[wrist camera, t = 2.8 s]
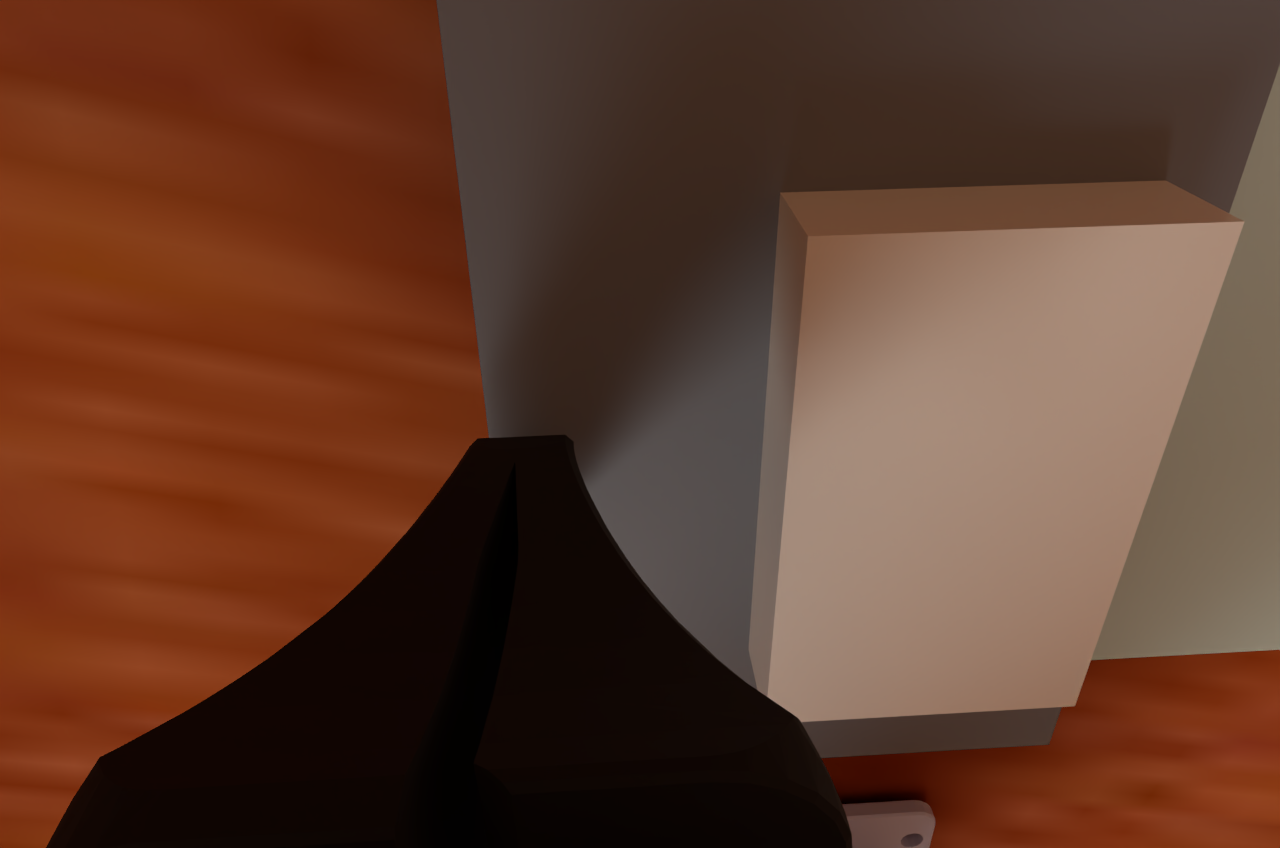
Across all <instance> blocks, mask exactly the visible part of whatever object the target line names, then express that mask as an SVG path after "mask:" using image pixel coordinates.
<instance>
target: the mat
mask: <svg viewBox="0 0 1280 848" xmlns="http://www.w3.org/2000/svg"><path fill="white" fill-rule="evenodd" d="M1229 214H1231V215H1233V216H1235V217H1237V218H1239V219H1241V220H1243V221H1245V222H1244V225H1243V228H1242V230H1241V233H1240V236H1239V239H1238V242H1237V245H1236V248H1235V250H1234V253H1233V256H1232V259H1231V262H1230V265H1229V268H1228V270H1227V273H1226V276H1225V279H1224V282H1223V285H1222V288H1221V290H1220V293H1219V296H1218V299H1217V302H1216V305H1215V307H1214V310H1213V313H1212V316H1211V319H1210V322H1209V325H1208V327H1207V330H1206V333H1205V336H1204V339H1203V342H1202V345H1201V347H1200V350H1199V353H1198V356H1197V359H1196V362H1195V365H1194V367H1193V370H1192V373H1191V376H1190V379H1189V382H1188V385H1187V387H1186V390H1185V393H1184V396H1183V399H1182V402H1181V405H1180V407H1179V410H1178V413H1177V416H1176V419H1175V422H1174V425H1173V427H1172V430H1171V433H1170V436H1169V439H1168V442H1167V444H1166V447H1165V450H1164V453H1163V456H1162V459H1161V462H1160V464H1159V467H1158V470H1157V473H1156V476H1155V479H1154V482H1153V484H1152V487H1151V490H1150V493H1149V496H1148V499H1147V502H1146V504H1145V507H1144V510H1143V513H1142V516H1141V519H1140V522H1139V524H1138V527H1137V530H1136V533H1135V536H1134V539H1133V542H1132V544H1131V547H1130V550H1129V553H1128V556H1127V559H1126V562H1125V564H1124V567H1123V570H1122V573H1121V576H1120V579H1119V582H1118V584H1117V587H1116V590H1115V593H1114V596H1113V599H1112V601H1111V604H1110V607H1109V610H1108V613H1107V616H1106V619H1105V621H1104V624H1103V627H1102V630H1101V633H1100V636H1099V639H1098V641H1097V644H1096V647H1095V650H1094V653H1093V656H1092V659H1091V660H1101V659H1119V658H1137V657H1155V656H1173V655H1191V654H1209V653H1227V652H1245V651H1263V650H1280V65H1279V68H1278V71H1277V74H1276V77H1275V80H1274V83H1273V86H1272V89H1271V92H1270V95H1269V98H1268V100H1267V103H1266V106H1265V109H1264V112H1263V115H1262V118H1261V121H1260V124H1259V127H1258V130H1257V133H1256V136H1255V139H1254V142H1253V145H1252V148H1251V151H1250V154H1249V156H1248V159H1247V162H1246V165H1245V168H1244V171H1243V174H1242V177H1241V180H1240V183H1239V186H1238V189H1237V192H1236V195H1235V198H1234V201H1233V204H1232V207H1231V209H1230V212H1229Z"/></svg>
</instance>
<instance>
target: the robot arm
mask: <svg viewBox="0 0 1280 848" xmlns="http://www.w3.org/2000/svg"><path fill="white" fill-rule="evenodd" d="M934 828H935V817H934V815H933V812H932V809H931V807H930V806H929V805H928V804H927V803H925V802H923V801H920V800H902V801H886V802H870V803H854V804H842V803H841V800H840V798H839V796H838V793H837V791H836V789H835V786H834V784H833V782H832V779H831V777H830V775H829V773H828V771H827V769H826V767H825V765H824V763H823V761H822V759H821V757H820V755H819V753H818V751H817V749H816V748H815V746H814V744H813V742H812V740H811V739H810V737H809V735H808V733H807V731H806V730H805V728H804V726H803V725H802V723H801V721H800V720H799V719H798V718H797V717H796V716H795V715H793V714H792V713H790V712H789V711H787V710H786V709H784V708H783V707H781V706H780V705H779V704H777V703H776V702H774V701H773V700H771V699H770V698H768V697H767V696H765V695H764V694H762V693H761V692H759V691H758V690H756V689H755V688H753V687H752V686H751V685H749V684H748V683H746V682H745V681H744V680H743V679H741V678H740V677H739V676H738V675H737V674H735V673H734V672H733V671H732V670H730V669H729V668H728V667H727V666H726V665H724V664H723V663H722V662H721V661H719V660H718V659H717V658H716V657H715V656H714V655H713V654H712V653H711V652H710V651H709V650H708V649H707V648H706V647H705V646H703V645H702V644H701V643H700V642H699V641H698V640H697V639H696V638H695V637H694V636H693V635H692V634H691V633H690V632H689V631H688V630H687V629H686V628H685V627H684V626H683V625H681V624H680V623H679V622H678V621H677V619H676V618H675V617H674V616H673V615H672V614H671V613H670V612H669V611H668V609H667V608H666V607H665V606H664V605H663V604H662V603H661V602H660V600H659V599H658V598H657V597H656V596H655V595H654V593H653V592H652V591H651V590H650V588H649V587H648V586H647V585H646V583H645V582H644V581H643V580H642V579H641V577H640V576H639V575H638V573H637V572H636V570H635V569H634V568H633V566H632V565H631V564H630V562H629V561H628V559H627V558H626V556H625V555H624V553H623V552H622V550H621V549H620V547H619V546H618V544H617V543H616V541H615V539H614V538H613V536H612V535H611V533H610V531H609V530H608V528H607V526H606V525H605V523H604V521H603V519H602V517H601V515H600V513H599V511H598V510H597V508H596V506H595V504H594V502H593V500H592V498H591V496H590V494H589V492H588V490H587V487H586V485H585V483H584V480H583V478H582V475H581V473H580V470H579V467H578V464H577V461H576V457H575V452H574V441H572V440H571V439H570V438H569V437H568V436H566V435H545V436H523V437H501V438H479V439H477V440H476V441H475V442H474V443H473V444H472V445H471V446H470V447H469V449H468V450H467V452H466V453H465V455H464V456H463V458H462V459H461V461H460V462H459V464H458V465H457V467H456V468H455V470H454V471H453V473H452V474H451V475H450V477H449V478H448V480H447V481H446V482H445V484H444V485H443V487H442V488H441V489H440V491H439V492H438V493H437V495H436V496H435V497H434V499H433V500H432V501H431V502H430V504H429V505H428V506H427V508H426V509H425V510H424V511H423V513H422V514H421V515H420V517H419V518H418V519H417V520H416V522H415V523H414V524H413V525H412V527H411V528H410V529H409V530H408V531H407V533H406V534H405V535H404V536H403V537H402V538H401V539H400V540H399V541H398V543H397V544H396V545H395V546H394V547H393V548H392V549H391V550H390V552H389V553H388V554H387V555H386V556H385V557H384V558H383V559H382V561H381V562H380V563H379V564H378V565H377V566H376V567H375V568H374V569H373V570H372V571H371V572H370V573H369V574H368V575H367V576H366V577H365V578H364V579H363V580H362V581H361V582H360V583H359V584H358V585H357V586H356V587H355V588H354V589H353V590H352V591H351V592H350V593H349V594H348V595H347V596H346V597H345V598H343V599H342V600H341V601H340V602H339V603H338V604H337V605H336V606H335V607H334V608H332V609H331V610H330V611H329V612H328V613H327V614H325V615H324V616H323V617H322V618H320V619H319V620H318V621H316V622H315V623H314V624H313V625H311V626H310V627H309V628H307V629H306V630H305V631H304V632H302V633H301V634H300V635H298V636H297V637H296V638H295V639H293V640H292V641H291V642H289V643H288V644H287V645H285V646H284V647H283V648H282V649H280V650H279V651H278V652H276V653H275V654H274V655H272V656H271V657H270V658H268V659H267V660H265V661H264V662H262V663H261V664H260V665H258V666H257V667H255V668H254V669H252V670H251V671H249V672H248V673H246V674H245V675H243V676H242V677H240V678H239V679H237V680H236V681H234V682H233V683H231V684H229V685H228V686H226V687H225V688H223V689H221V690H220V691H218V692H217V693H215V694H214V695H212V696H210V697H209V698H207V699H206V700H204V701H202V702H201V703H199V704H197V705H196V706H194V707H192V708H190V709H189V710H187V711H185V712H184V713H182V714H180V715H178V716H176V717H175V718H173V719H171V720H169V721H167V722H165V723H164V724H162V725H160V726H158V727H156V728H154V729H152V730H151V731H149V732H147V733H145V734H143V735H141V736H140V737H138V738H136V739H134V740H132V741H130V742H129V743H127V744H125V745H123V746H121V747H119V748H117V749H115V750H113V751H111V752H109V753H107V754H105V755H104V756H102V757H100V758H99V759H98V761H97V762H96V764H95V766H94V767H93V769H92V770H91V772H90V773H89V775H88V776H87V778H86V779H85V781H84V783H83V784H82V786H81V787H80V789H79V790H78V792H77V793H76V795H75V796H74V798H73V799H72V801H71V803H70V805H69V807H68V808H67V810H66V812H65V814H64V816H63V817H62V819H61V821H60V823H59V825H58V827H57V828H56V830H55V832H54V834H53V836H52V838H51V840H50V841H49V843H48V845H47V847H46V848H929V847H930V843H931V839H932V835H933V832H934Z"/></svg>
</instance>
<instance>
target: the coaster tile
mask: <svg viewBox="0 0 1280 848" xmlns="http://www.w3.org/2000/svg"><path fill="white" fill-rule="evenodd" d="M1244 222H1245V221H1243V220H1241V219H1239V218H1237V217H1235V216H1233V215H1231V214H1229V213H1227V212H1225V211H1223V210H1222V209H1220V208H1218V207H1216V206H1214V205H1212V204H1210V203H1208V202H1206V201H1204V200H1202V199H1200V198H1199V197H1197V196H1195V195H1193V194H1191V193H1189V192H1187V191H1185V190H1183V189H1181V188H1179V187H1177V186H1176V185H1174V184H1172V183H1170V182H1168V181H1166V180H1164V181H1132V182H1100V183H1069V184H1037V185H1005V186H974V187H942V188H910V189H879V190H847V191H815V192H784V193H780V203H779V218H778V232H777V246H776V261H775V275H774V290H773V304H772V318H771V333H770V347H769V361H768V376H767V390H766V405H765V419H764V433H763V448H762V462H761V477H760V491H759V505H758V520H757V534H756V549H755V563H754V577H753V592H752V606H751V620H750V635H749V654H750V659H751V663H752V668H753V672H754V677H755V681H756V686H757V690H758V691H759V692H761V693H762V694H764V695H765V696H767V697H768V698H770V699H771V700H773V701H774V702H776V703H777V704H779V705H780V706H781V707H783V708H784V709H786V710H787V711H789V712H790V713H792V714H793V715H795V716H796V717H797V718H798V719H799V720H800V721H801V722H810V721H828V720H845V719H862V718H880V717H897V716H914V715H932V714H949V713H966V712H983V711H1001V710H1018V709H1035V708H1053V707H1070V706H1075V704H1076V701H1077V699H1078V696H1079V693H1080V690H1081V687H1082V684H1083V681H1084V679H1085V676H1086V673H1087V670H1088V667H1089V664H1090V661H1091V659H1092V656H1093V653H1094V650H1095V647H1096V644H1097V641H1098V639H1099V636H1100V633H1101V630H1102V627H1103V624H1104V621H1105V619H1106V616H1107V613H1108V610H1109V607H1110V604H1111V601H1112V599H1113V596H1114V593H1115V590H1116V587H1117V584H1118V582H1119V579H1120V576H1121V573H1122V570H1123V567H1124V564H1125V562H1126V559H1127V556H1128V553H1129V550H1130V547H1131V544H1132V542H1133V539H1134V536H1135V533H1136V530H1137V527H1138V524H1139V522H1140V519H1141V516H1142V513H1143V510H1144V507H1145V504H1146V502H1147V499H1148V496H1149V493H1150V490H1151V487H1152V484H1153V482H1154V479H1155V476H1156V473H1157V470H1158V467H1159V464H1160V462H1161V459H1162V456H1163V453H1164V450H1165V447H1166V444H1167V442H1168V439H1169V436H1170V433H1171V430H1172V427H1173V425H1174V422H1175V419H1176V416H1177V413H1178V410H1179V407H1180V405H1181V402H1182V399H1183V396H1184V393H1185V390H1186V387H1187V385H1188V382H1189V379H1190V376H1191V373H1192V370H1193V367H1194V365H1195V362H1196V359H1197V356H1198V353H1199V350H1200V347H1201V345H1202V342H1203V339H1204V336H1205V333H1206V330H1207V327H1208V325H1209V322H1210V319H1211V316H1212V313H1213V310H1214V307H1215V305H1216V302H1217V299H1218V296H1219V293H1220V290H1221V288H1222V285H1223V282H1224V279H1225V276H1226V273H1227V270H1228V268H1229V265H1230V262H1231V259H1232V256H1233V253H1234V250H1235V248H1236V245H1237V242H1238V239H1239V236H1240V233H1241V230H1242V228H1243V225H1244Z"/></svg>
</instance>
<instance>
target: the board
mask: <svg viewBox="0 0 1280 848" xmlns="http://www.w3.org/2000/svg"><path fill="white" fill-rule="evenodd" d="M437 9H438V17H439V25H440V34H441V42H442V50H443V59H444V67H445V75H446V84H447V92H448V100H449V109H450V117H451V125H452V133H453V142H454V150H455V158H456V167H457V175H458V183H459V192H460V200H461V208H462V217H463V225H464V233H465V242H466V250H467V258H468V267H469V275H470V283H471V291H472V300H473V308H474V316H475V325H476V333H477V341H478V350H479V358H480V366H481V375H482V383H483V391H484V400H485V408H486V416H487V424H488V433H489V438H501V437H523V436H545V435H566V436H568V437H569V438H570V439H571V440H572V441H574V452H575V457H576V461H577V464H578V467H579V470H580V473H581V475H582V478H583V480H584V483H585V485H586V487H587V490H588V492H589V494H590V496H591V498H592V500H593V502H594V504H595V506H596V508H597V510H598V511H599V513H600V515H601V517H602V519H603V521H604V523H605V525H606V526H607V528H608V530H609V531H610V533H611V535H612V536H613V538H614V539H615V541H616V543H617V544H618V546H619V547H620V549H621V550H622V552H623V553H624V555H625V556H626V558H627V559H628V561H629V562H630V564H631V565H632V566H633V568H634V569H635V570H636V572H637V573H638V575H639V576H640V577H641V579H642V580H643V581H644V582H645V583H646V585H647V586H648V587H649V588H650V590H651V591H652V592H653V593H654V595H655V596H656V597H657V598H658V599H659V600H660V602H661V603H662V604H663V605H664V606H665V607H666V608H667V609H668V611H669V612H670V613H671V614H672V615H673V616H674V617H675V618H676V619H677V621H678V622H679V623H680V624H681V625H683V626H684V627H685V628H686V629H687V630H688V631H689V632H690V633H691V634H692V635H693V636H694V637H695V638H696V639H697V640H698V641H699V642H700V643H701V644H702V645H703V646H705V647H706V648H707V649H708V650H709V651H710V652H711V653H712V654H713V655H714V656H715V657H716V658H717V659H718V660H719V661H721V662H722V663H723V664H724V665H726V666H727V667H728V668H729V669H730V670H732V671H733V672H734V673H735V674H737V675H738V676H739V677H740V678H741V679H743V680H744V681H745V682H746V683H748V684H749V685H751V686H752V687H753V688H755V689H756V690H757V686H756V681H755V677H754V672H753V668H752V663H751V659H750V654H749V635H750V620H751V606H752V592H753V577H754V563H755V549H756V534H757V520H758V505H759V491H760V477H761V462H762V448H763V433H764V419H765V405H766V390H767V376H768V361H769V347H770V333H771V318H772V304H773V290H774V275H775V261H776V246H777V232H778V218H779V203H780V193H784V192H815V191H847V190H879V189H910V188H942V187H974V186H1005V185H1037V184H1069V183H1100V182H1132V181H1164V180H1166V181H1168V182H1170V183H1172V184H1174V185H1176V186H1177V187H1179V188H1181V189H1183V190H1185V191H1187V192H1189V193H1191V194H1193V195H1195V196H1197V197H1199V198H1200V199H1202V200H1204V201H1206V202H1208V203H1210V204H1212V205H1214V206H1216V207H1218V208H1220V209H1222V210H1223V211H1225V212H1227V213H1229V212H1230V209H1231V207H1232V204H1233V201H1234V198H1235V195H1236V192H1237V189H1238V186H1239V183H1240V180H1241V177H1242V174H1243V171H1244V168H1245V165H1246V162H1247V159H1248V156H1249V154H1250V151H1251V148H1252V145H1253V142H1254V139H1255V136H1256V133H1257V130H1258V127H1259V124H1260V121H1261V118H1262V115H1263V112H1264V109H1265V106H1266V103H1267V100H1268V98H1269V95H1270V92H1271V89H1272V86H1273V83H1274V80H1275V77H1276V74H1277V71H1278V68H1279V65H1280V0H437ZM1060 710H1061V707H1053V708H1035V709H1018V710H1001V711H983V712H966V713H949V714H932V715H914V716H897V717H880V718H862V719H845V720H828V721H810V722H801V723H802V725H803V726H804V728H805V730H806V731H807V733H808V735H809V737H810V739H811V740H812V742H813V744H814V746H815V748H816V749H817V751H818V753H819V755H820V757H821V758H831V757H848V756H865V755H882V754H898V753H915V752H932V751H949V750H965V749H982V748H999V747H1016V746H1033V745H1049V743H1050V740H1051V737H1052V734H1053V731H1054V728H1055V725H1056V722H1057V719H1058V716H1059V713H1060Z"/></svg>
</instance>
